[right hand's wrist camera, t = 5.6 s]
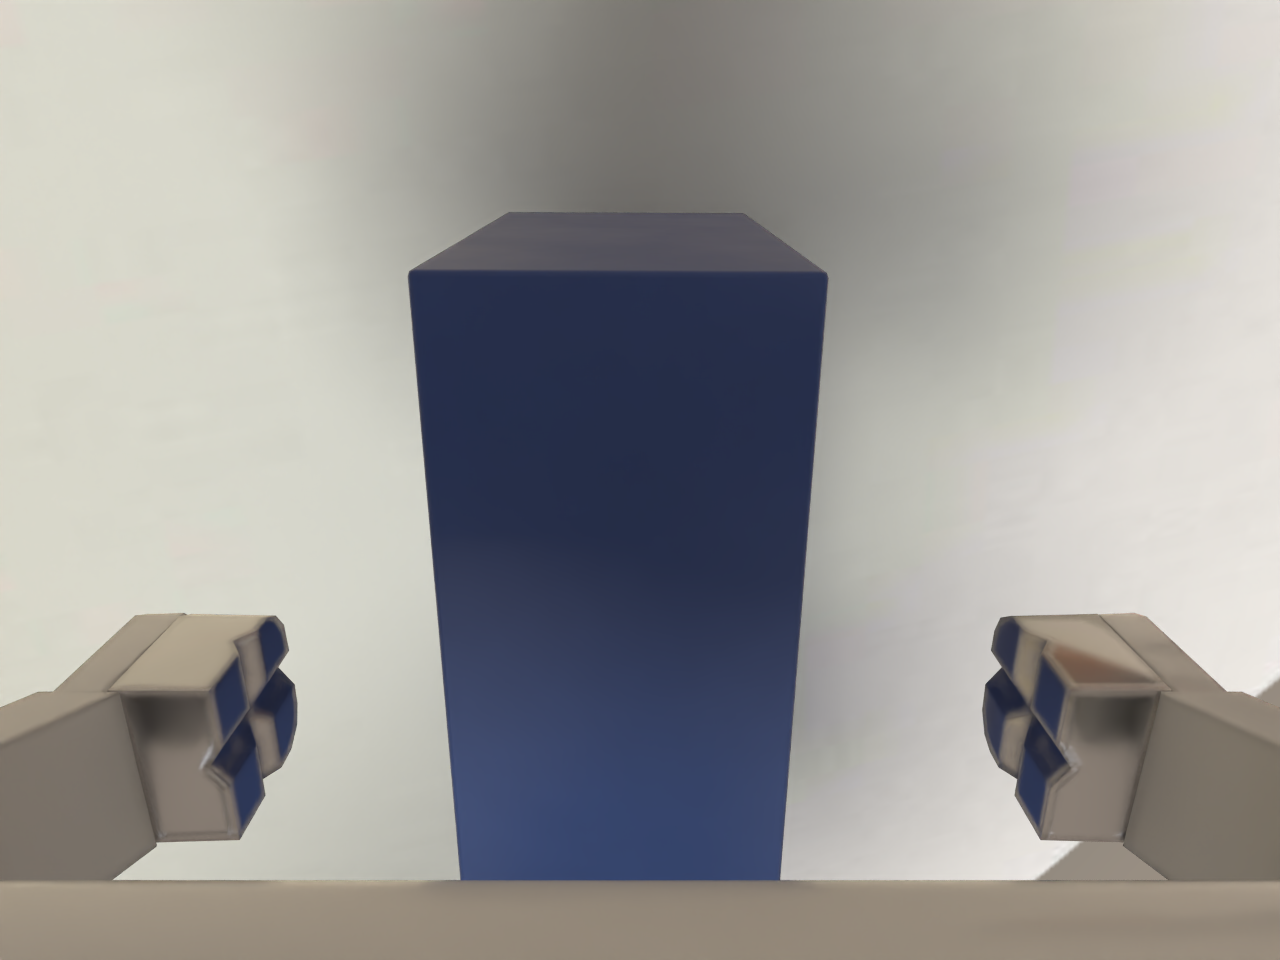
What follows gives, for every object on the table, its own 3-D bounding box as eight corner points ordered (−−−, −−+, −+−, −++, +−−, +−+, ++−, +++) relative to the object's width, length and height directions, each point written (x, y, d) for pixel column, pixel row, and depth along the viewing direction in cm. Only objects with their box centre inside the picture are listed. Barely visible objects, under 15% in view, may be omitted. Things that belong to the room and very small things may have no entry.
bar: (505, 211, 20) (405, 269, 12) (746, 213, 21) (830, 272, 12) (540, 945, 29) (497, 1310, 20) (712, 945, 29) (745, 1310, 20)
